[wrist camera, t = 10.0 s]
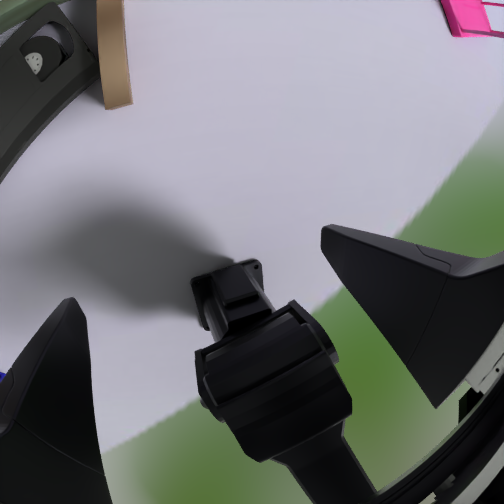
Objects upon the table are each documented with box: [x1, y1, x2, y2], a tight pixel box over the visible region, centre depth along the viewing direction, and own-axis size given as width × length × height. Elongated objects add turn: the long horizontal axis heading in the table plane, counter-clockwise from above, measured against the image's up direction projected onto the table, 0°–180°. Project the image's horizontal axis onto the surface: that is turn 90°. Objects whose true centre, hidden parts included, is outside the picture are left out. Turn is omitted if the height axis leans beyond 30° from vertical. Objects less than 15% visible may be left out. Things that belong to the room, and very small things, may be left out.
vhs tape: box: [0, 2, 101, 184], centre depth 10 cm, size 14×8×2 cm, turn 121°
